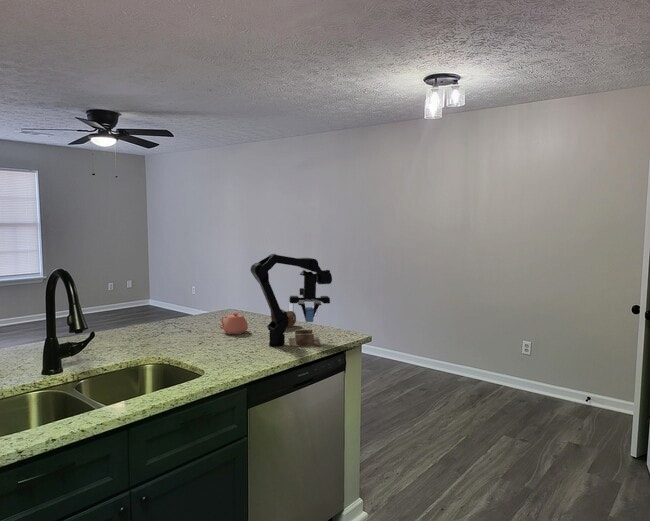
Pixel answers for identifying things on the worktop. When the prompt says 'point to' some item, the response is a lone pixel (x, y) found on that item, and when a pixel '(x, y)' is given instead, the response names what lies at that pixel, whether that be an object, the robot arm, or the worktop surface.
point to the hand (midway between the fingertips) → (309, 317)
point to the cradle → (304, 339)
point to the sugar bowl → (234, 324)
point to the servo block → (309, 314)
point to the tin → (291, 318)
